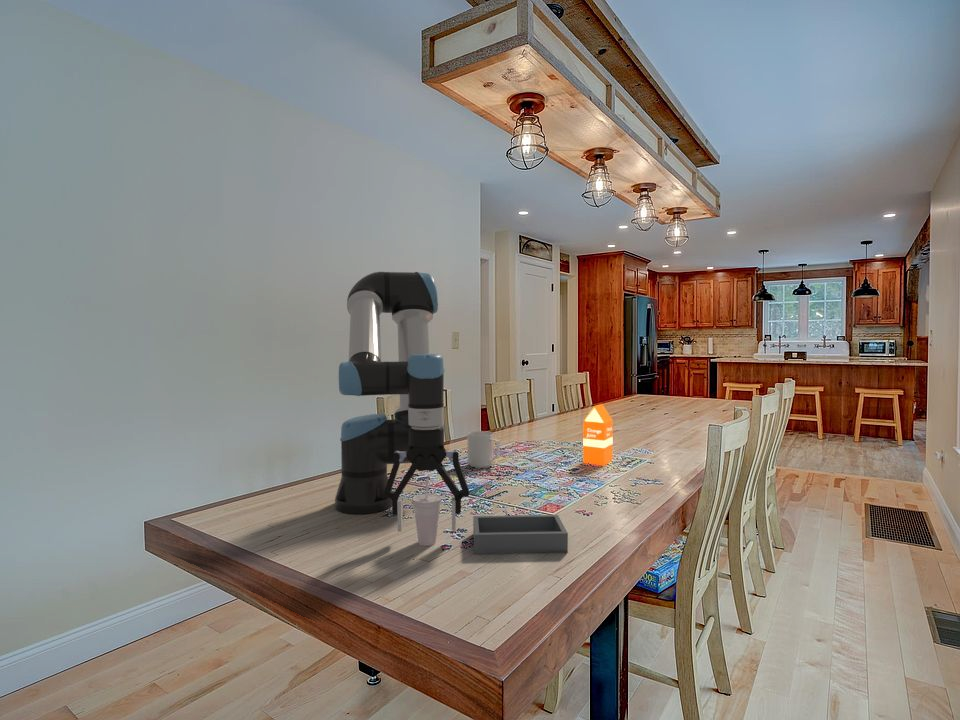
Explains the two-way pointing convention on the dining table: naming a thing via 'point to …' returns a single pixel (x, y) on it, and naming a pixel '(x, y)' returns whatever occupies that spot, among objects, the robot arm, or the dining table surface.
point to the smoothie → (427, 516)
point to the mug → (481, 449)
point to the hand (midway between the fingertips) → (427, 528)
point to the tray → (519, 534)
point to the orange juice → (597, 436)
